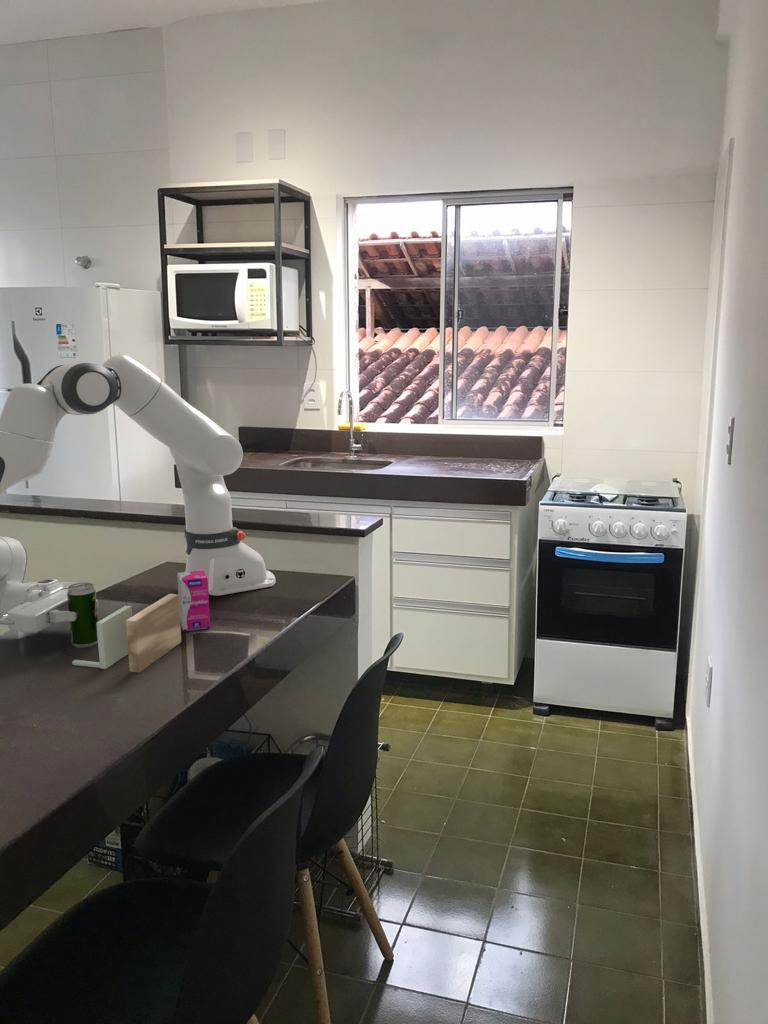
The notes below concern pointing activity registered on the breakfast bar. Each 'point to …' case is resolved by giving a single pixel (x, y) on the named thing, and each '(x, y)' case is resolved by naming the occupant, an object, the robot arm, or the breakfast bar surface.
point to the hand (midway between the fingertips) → (86, 610)
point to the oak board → (153, 632)
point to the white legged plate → (110, 639)
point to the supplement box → (193, 600)
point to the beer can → (83, 614)
